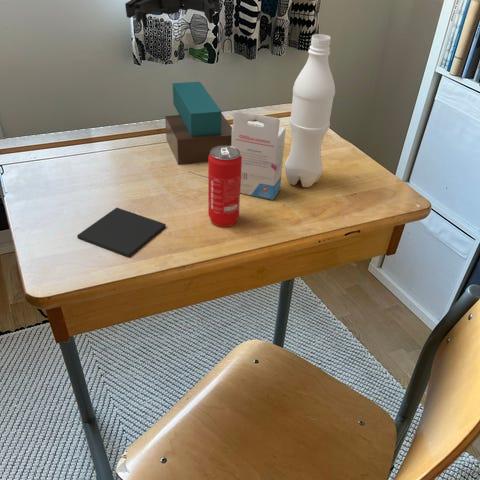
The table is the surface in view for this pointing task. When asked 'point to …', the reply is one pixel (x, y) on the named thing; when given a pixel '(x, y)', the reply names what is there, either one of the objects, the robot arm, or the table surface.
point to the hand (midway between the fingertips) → (178, 18)
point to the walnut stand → (194, 140)
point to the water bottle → (310, 114)
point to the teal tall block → (197, 108)
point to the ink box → (259, 153)
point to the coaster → (122, 232)
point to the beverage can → (224, 185)
